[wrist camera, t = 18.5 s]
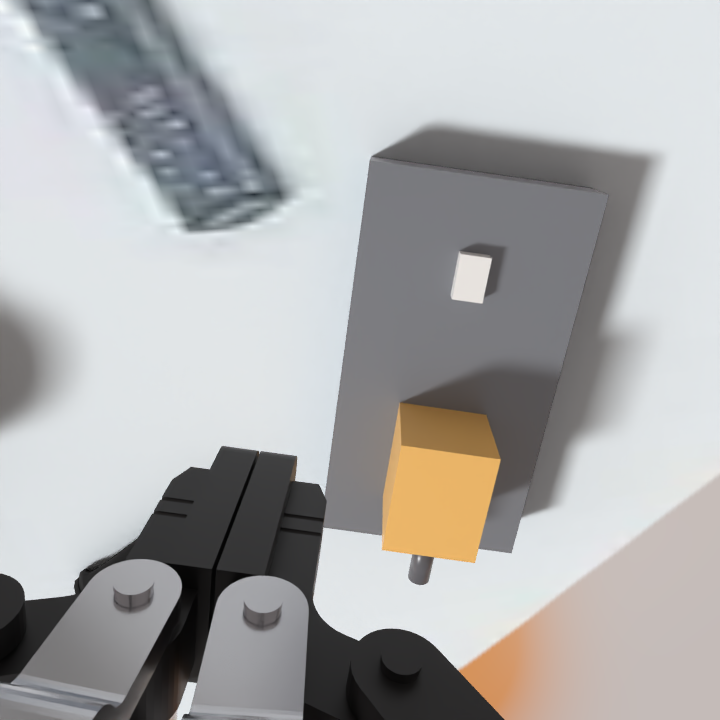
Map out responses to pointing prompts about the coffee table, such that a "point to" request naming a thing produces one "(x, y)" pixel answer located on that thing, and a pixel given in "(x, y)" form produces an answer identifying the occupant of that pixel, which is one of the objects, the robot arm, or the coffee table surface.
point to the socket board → (457, 323)
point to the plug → (438, 486)
